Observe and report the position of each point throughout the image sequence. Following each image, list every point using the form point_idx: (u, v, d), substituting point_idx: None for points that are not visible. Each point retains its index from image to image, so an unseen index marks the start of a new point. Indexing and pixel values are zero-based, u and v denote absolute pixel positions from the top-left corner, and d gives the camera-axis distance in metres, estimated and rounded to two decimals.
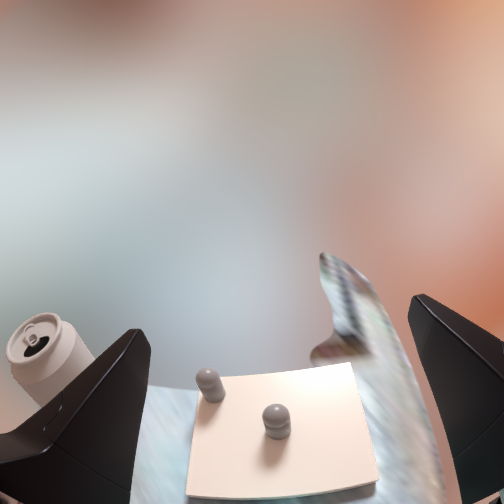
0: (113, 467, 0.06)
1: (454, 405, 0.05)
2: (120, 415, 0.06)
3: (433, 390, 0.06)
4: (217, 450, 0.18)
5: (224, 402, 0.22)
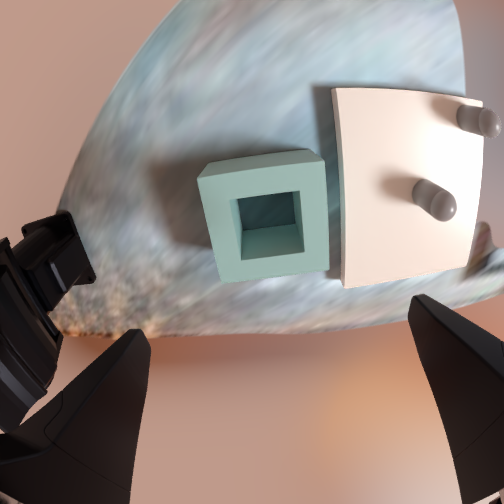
0: (113, 467, 0.06)
1: (454, 405, 0.05)
2: (120, 415, 0.06)
3: (433, 390, 0.06)
4: (401, 123, 0.14)
5: (457, 130, 0.14)
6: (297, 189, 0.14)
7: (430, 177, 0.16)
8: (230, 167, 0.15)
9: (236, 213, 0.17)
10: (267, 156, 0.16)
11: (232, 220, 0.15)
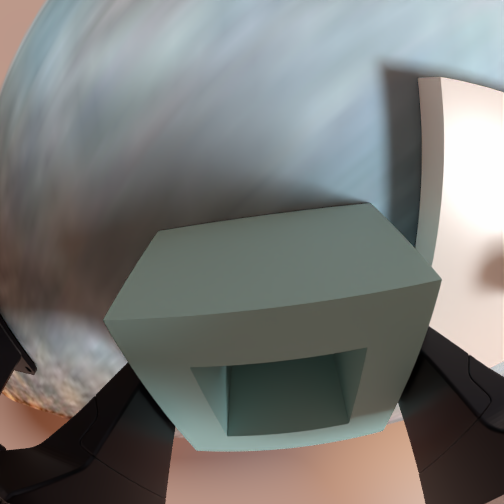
0: (149, 475, 0.05)
1: (418, 419, 0.05)
2: (157, 419, 0.06)
3: (399, 401, 0.07)
4: None
5: None
6: (362, 345, 0.05)
7: None
8: (191, 274, 0.06)
9: None
10: (284, 227, 0.07)
11: (203, 394, 0.06)
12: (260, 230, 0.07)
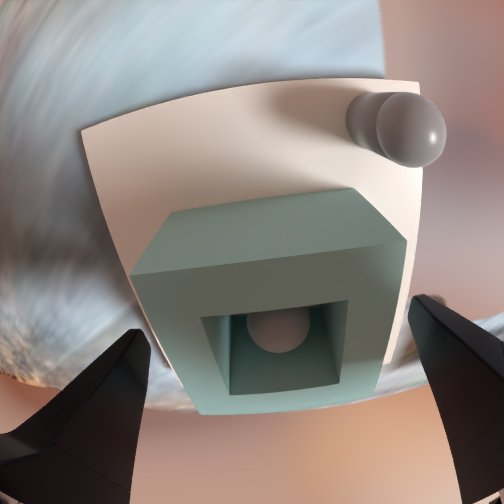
0: (113, 467, 0.06)
1: (454, 405, 0.05)
2: (120, 415, 0.06)
3: (433, 390, 0.06)
4: (201, 160, 0.09)
5: (349, 150, 0.09)
6: (344, 298, 0.06)
7: None
8: (203, 240, 0.07)
9: None
10: (279, 206, 0.09)
11: (210, 346, 0.07)
12: (259, 208, 0.09)
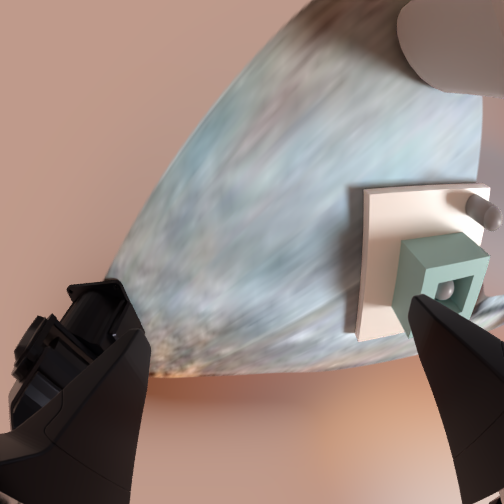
0: (113, 467, 0.06)
1: (454, 405, 0.05)
2: (120, 415, 0.06)
3: (433, 390, 0.06)
4: (419, 219, 0.18)
5: (464, 217, 0.18)
6: (473, 274, 0.16)
7: None
8: (435, 255, 0.17)
9: None
10: (445, 241, 0.18)
11: (434, 296, 0.17)
12: (439, 241, 0.18)
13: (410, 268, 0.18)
